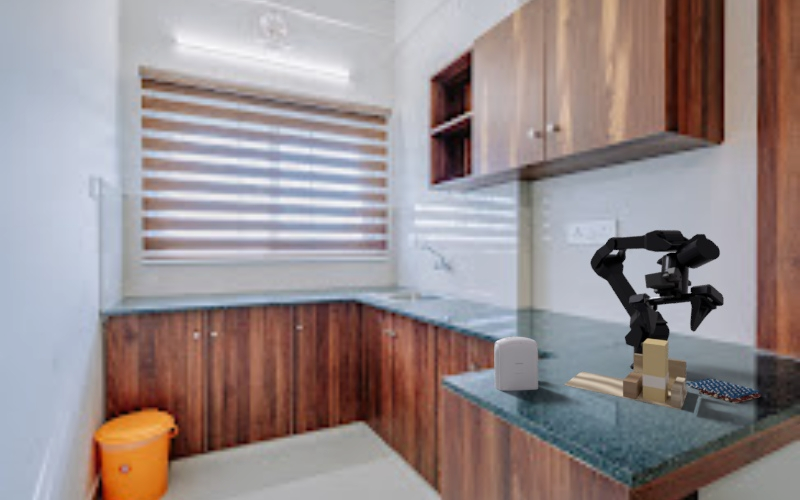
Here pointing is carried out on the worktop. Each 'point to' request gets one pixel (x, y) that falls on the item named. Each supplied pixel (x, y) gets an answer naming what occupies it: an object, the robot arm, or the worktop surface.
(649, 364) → the tea box
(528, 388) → the photo printer
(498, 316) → the worktop surface
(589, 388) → the wooden blocks on plank
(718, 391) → the woven mat
